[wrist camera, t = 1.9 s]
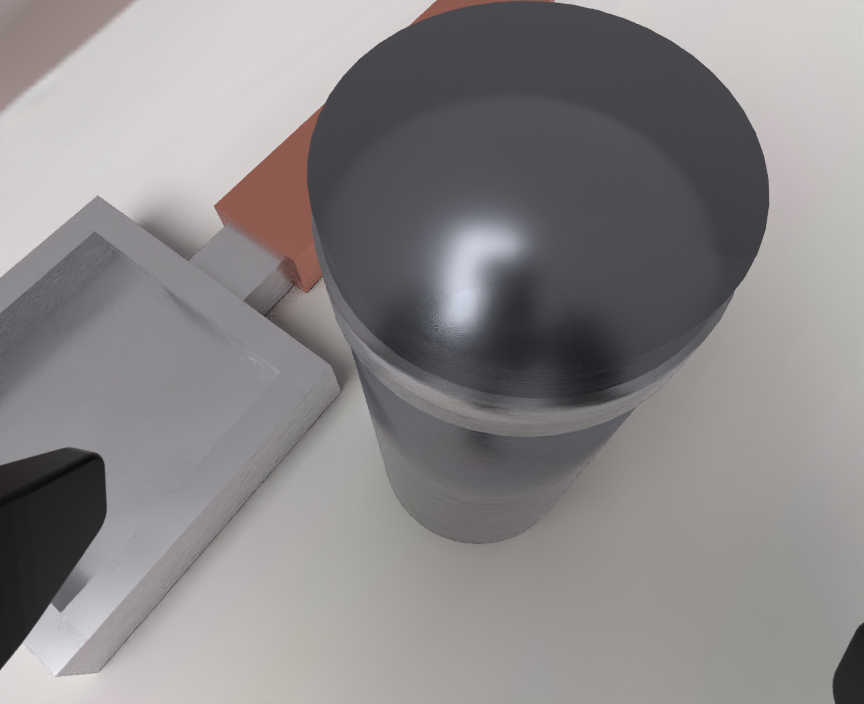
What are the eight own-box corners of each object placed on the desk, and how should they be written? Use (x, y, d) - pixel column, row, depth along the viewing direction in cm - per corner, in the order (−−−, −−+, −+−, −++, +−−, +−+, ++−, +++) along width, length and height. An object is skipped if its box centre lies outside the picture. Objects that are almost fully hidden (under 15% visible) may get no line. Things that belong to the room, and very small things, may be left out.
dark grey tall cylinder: (499, 590, 18) (622, 488, 6) (343, 468, 19) (197, 196, 8) (604, 432, 20) (855, 120, 8) (455, 332, 21) (479, -59, 9)
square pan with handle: (97, 673, 17) (54, 676, 15) (-122, 452, 20) (-183, 431, 18) (615, 73, 26) (629, 28, 24) (417, -26, 28) (416, -75, 27)
